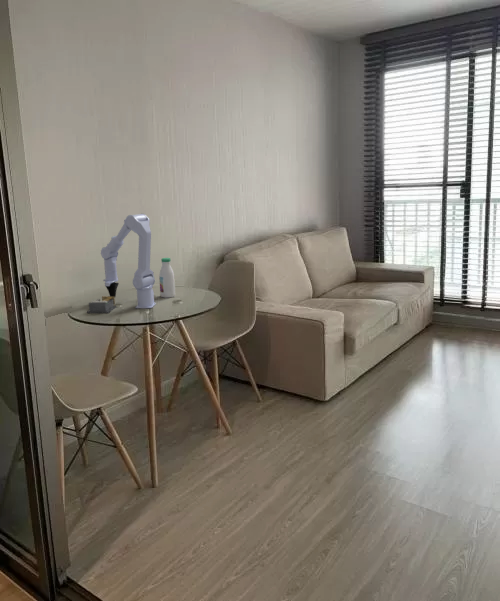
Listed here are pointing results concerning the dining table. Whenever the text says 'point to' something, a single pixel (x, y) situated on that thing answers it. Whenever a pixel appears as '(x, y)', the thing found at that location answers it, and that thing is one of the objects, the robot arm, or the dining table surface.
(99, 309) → the gauge frame
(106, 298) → the wooden t-shaped block
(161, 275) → the milk bottle
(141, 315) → the dining table surface
